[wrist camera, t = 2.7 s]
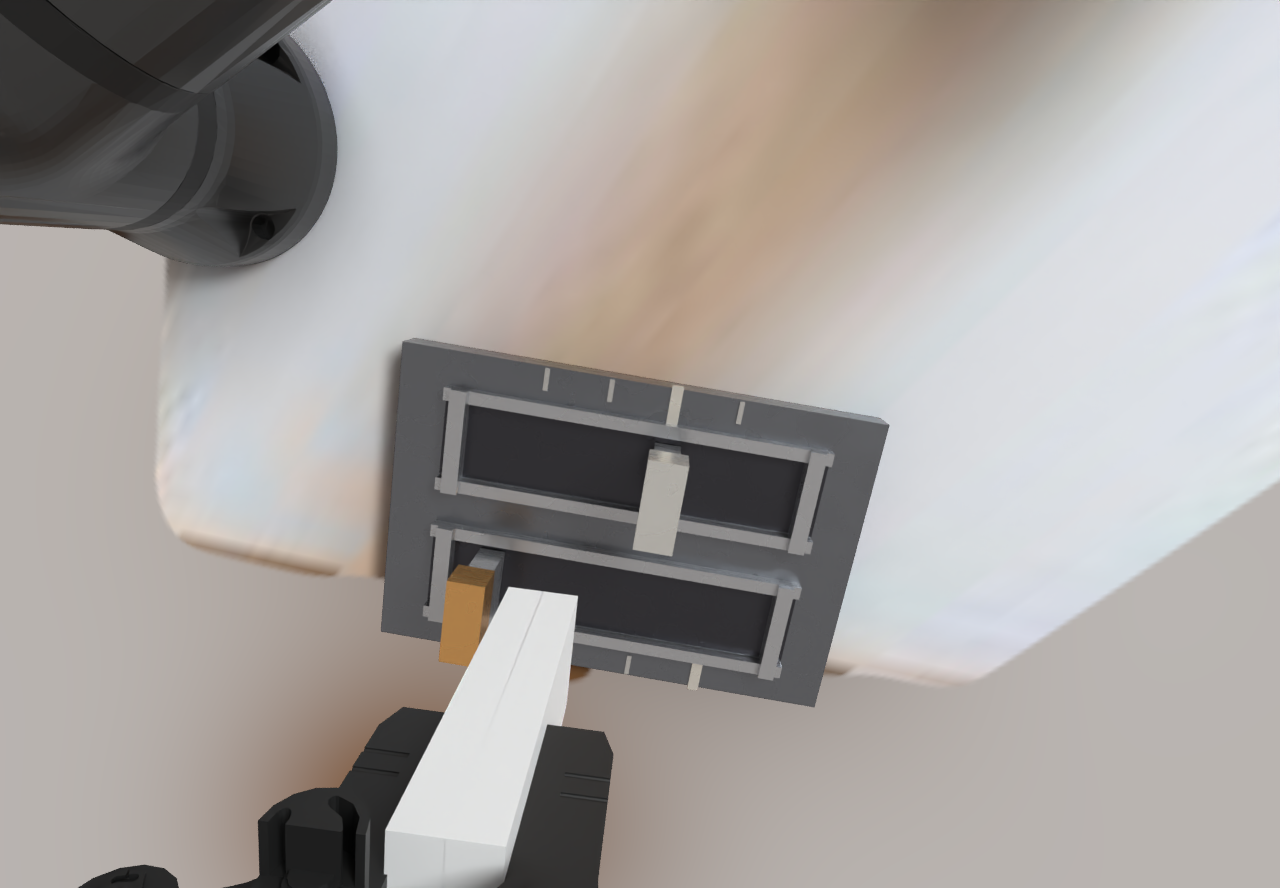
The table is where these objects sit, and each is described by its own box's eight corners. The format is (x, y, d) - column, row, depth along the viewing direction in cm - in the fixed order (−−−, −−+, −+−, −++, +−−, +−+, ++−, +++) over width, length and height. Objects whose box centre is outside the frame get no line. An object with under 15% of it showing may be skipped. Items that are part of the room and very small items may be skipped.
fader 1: (469, 609, 46) (438, 661, 40) (477, 538, 45) (446, 580, 39) (501, 615, 46) (475, 667, 40) (510, 544, 45) (485, 587, 39)
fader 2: (638, 510, 44) (632, 549, 38) (652, 432, 43) (648, 459, 37) (672, 516, 44) (672, 556, 38) (687, 438, 43) (689, 466, 37)
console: (392, 619, 49) (373, 643, 46) (414, 334, 44) (395, 340, 41) (808, 692, 49) (817, 721, 46) (880, 414, 44) (896, 426, 41)
